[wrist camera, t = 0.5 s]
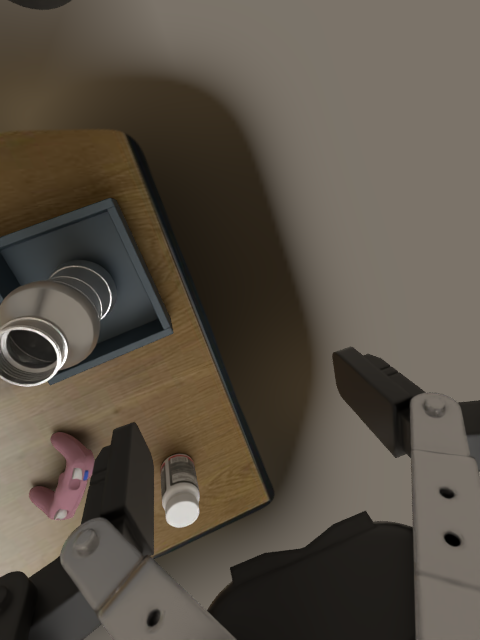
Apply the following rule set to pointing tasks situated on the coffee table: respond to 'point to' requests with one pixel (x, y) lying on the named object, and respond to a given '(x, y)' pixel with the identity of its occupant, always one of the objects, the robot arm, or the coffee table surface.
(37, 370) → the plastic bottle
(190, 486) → the pill bottle
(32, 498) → the pink curved plastic piece
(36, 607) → the robot arm
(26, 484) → the coffee table surface
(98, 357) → the bin
